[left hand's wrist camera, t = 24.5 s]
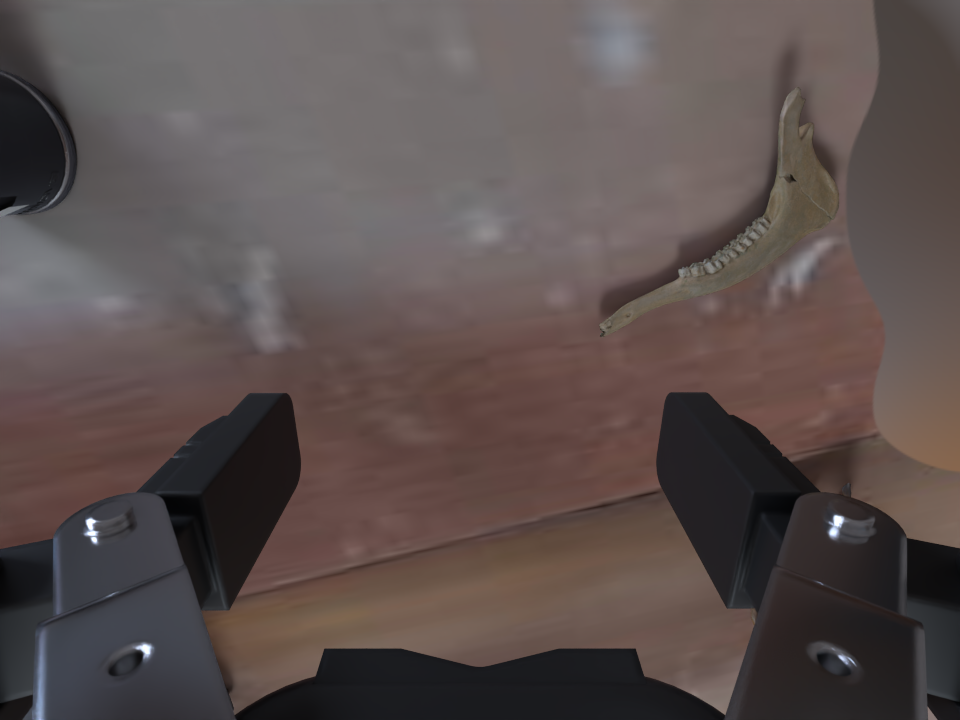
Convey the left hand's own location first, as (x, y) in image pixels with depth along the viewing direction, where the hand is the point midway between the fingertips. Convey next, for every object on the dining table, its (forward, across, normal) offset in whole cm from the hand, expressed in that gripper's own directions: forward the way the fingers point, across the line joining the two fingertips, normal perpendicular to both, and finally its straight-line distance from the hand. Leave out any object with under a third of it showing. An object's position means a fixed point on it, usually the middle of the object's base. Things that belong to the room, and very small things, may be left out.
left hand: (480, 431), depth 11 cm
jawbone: (+30, +16, +1) cm, 34 cm away
